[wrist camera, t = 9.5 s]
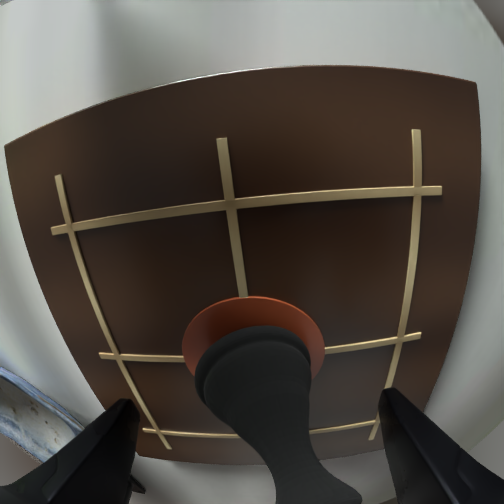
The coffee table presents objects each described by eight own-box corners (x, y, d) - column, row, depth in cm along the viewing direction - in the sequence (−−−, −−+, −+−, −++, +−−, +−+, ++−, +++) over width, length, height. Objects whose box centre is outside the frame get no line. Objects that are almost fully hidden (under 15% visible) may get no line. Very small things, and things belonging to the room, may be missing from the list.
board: (401, 426, 16) (407, 444, 14) (144, 440, 17) (138, 457, 16) (455, 84, 8) (479, 81, 7) (25, 141, 10) (1, 145, 8)
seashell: (25, 425, 20) (7, 457, 15) (-41, 329, 15) (-72, 360, 10) (145, 457, 18) (130, 506, 14) (66, 340, 14) (22, 402, 9)
